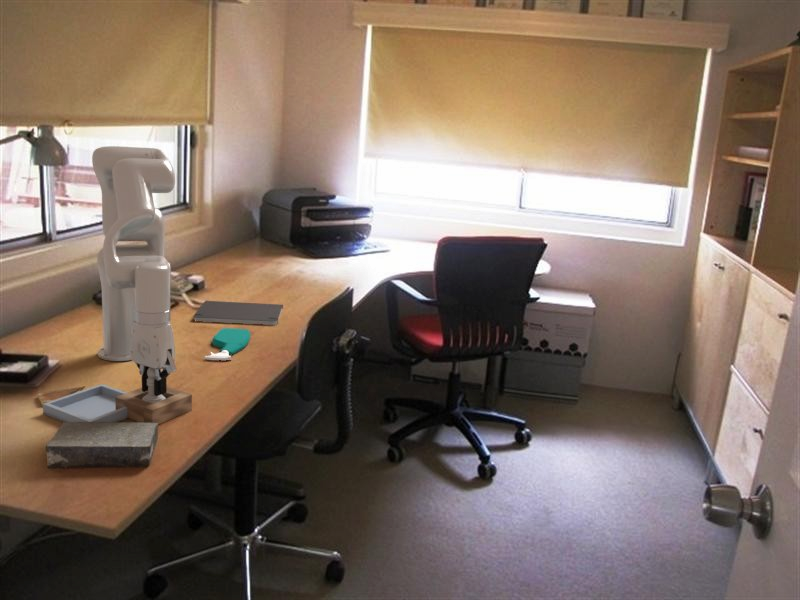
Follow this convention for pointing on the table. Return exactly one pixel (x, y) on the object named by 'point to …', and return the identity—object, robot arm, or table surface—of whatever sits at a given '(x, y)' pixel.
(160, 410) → the square wooden frame
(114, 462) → the stone block
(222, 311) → the notebook
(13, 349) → the table surface
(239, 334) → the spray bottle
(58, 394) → the shard
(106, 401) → the tray
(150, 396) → the chess piece
